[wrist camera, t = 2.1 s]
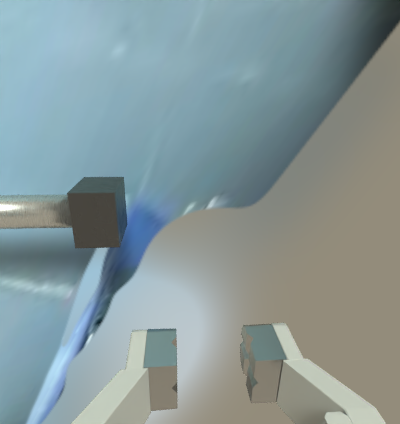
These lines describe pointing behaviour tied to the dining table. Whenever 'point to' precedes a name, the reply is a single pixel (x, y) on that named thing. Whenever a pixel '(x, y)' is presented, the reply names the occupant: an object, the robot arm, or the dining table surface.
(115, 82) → the dining table surface
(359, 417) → the robot arm
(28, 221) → the shaft
